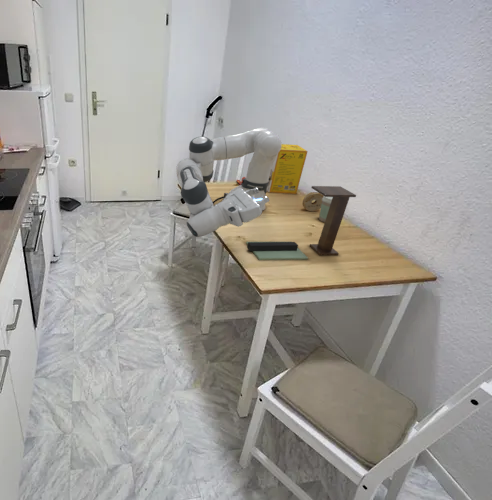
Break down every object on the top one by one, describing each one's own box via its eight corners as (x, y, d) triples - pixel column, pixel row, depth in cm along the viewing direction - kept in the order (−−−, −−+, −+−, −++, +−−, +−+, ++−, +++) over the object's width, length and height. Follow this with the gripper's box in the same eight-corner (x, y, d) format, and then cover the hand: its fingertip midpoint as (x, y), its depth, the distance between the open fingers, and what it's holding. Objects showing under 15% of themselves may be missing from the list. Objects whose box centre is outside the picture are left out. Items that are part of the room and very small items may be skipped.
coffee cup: (336, 224, 174) (344, 201, 168) (318, 222, 175) (325, 199, 170) (332, 218, 181) (339, 195, 176) (314, 216, 183) (321, 193, 177)
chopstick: (247, 193, 208) (247, 192, 207) (236, 181, 229) (236, 179, 228) (250, 194, 208) (250, 192, 207) (239, 181, 229) (239, 179, 228)
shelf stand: (306, 256, 143) (325, 194, 131) (294, 245, 152) (311, 185, 140) (339, 256, 145) (361, 195, 133) (325, 245, 154) (345, 186, 142)
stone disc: (319, 209, 191) (324, 191, 187) (321, 212, 188) (327, 194, 183) (299, 208, 191) (304, 190, 187) (302, 211, 188) (307, 192, 183)
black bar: (249, 251, 144) (250, 245, 142) (246, 247, 146) (248, 242, 145) (296, 250, 146) (298, 245, 145) (293, 247, 149) (294, 241, 148)
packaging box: (261, 183, 227) (270, 143, 215) (287, 185, 227) (297, 144, 215) (268, 192, 213) (278, 149, 201) (296, 193, 212) (307, 151, 201)
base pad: (259, 260, 139) (259, 258, 139) (246, 243, 151) (246, 241, 151) (307, 259, 142) (308, 257, 141) (290, 243, 154) (291, 241, 153)
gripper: (223, 207, 146) (255, 191, 144) (240, 228, 128) (277, 211, 126) (217, 194, 143) (250, 178, 141) (234, 214, 125) (272, 196, 123)
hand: (263, 193), depth 133 cm, fingers open, 8 cm apart
